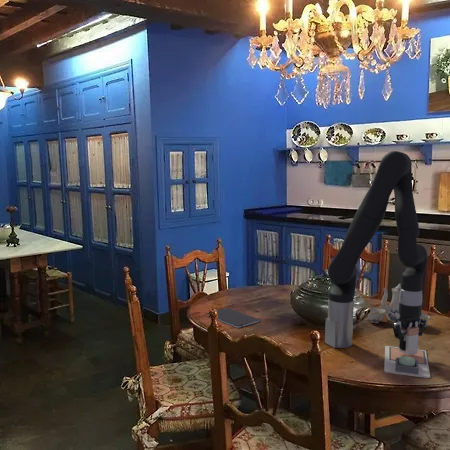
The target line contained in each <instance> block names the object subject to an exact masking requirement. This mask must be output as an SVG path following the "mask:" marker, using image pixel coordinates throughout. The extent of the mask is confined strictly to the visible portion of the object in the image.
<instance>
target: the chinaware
mask: <svg viewBox="0 0 450 450" xmlns="http://www.w3.org/2000/svg"><path fill="white" fill-rule="evenodd" d="M400 289H401V283H398V285H397V286H395V287H393V288H391V292H392V298H391V301H390V304H389V305H387V300H388V290H387V289H386V288H385V287H384V288H382V290H383V292H384V293H383V296H382V299H381V301H380V307H377V306H373V307H369V308H370V309H371V312H370V313H369V314H368V317H367V318H368V320H370V322H371V324H372V323H373V324H379V323H380V321H381V320H383V318H384V316H386V318H387V321H389V322H390V323H397V322H399V319H400V315H399V295H400ZM420 318H422V319H425V320H426V324H425V327H424V328H427V326H429V327H431V326H433V325H434V324H435V323H434V322H435V321H434V319H433V318H432V316H431V315H428V314H426V313H424V312H422V314H421V316H420ZM431 320H432V324H428V323H429V321H431ZM419 330H420V328H419Z"/></svg>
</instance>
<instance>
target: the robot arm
mask: <svg viewBox="0 0 450 450" xmlns="http://www.w3.org/2000/svg"><path fill="white" fill-rule="evenodd" d="M412 165H413V164H412V159H411V157H410V156H409V155H408V154H406V153H405V152H403V151H397V150H392V151H389V152H387V153H386V154H385V155H383V157H382V158H381V160H380V161H379V165H378V168H377V171H376V173H375V176H374V178H373V181H372V183H371V185H370V188H369V189H368V191H367V192H366V194H365V195H364V197H363V199H362V201H361V203H360V205H359V207H358V208H357V210H356V212H355V214H354V216H353V218H352V221H351V222H350V225H349V228H348V230H347V233H346V235H345V237H344V239H343V242H342V245H341V246H340V248H339V250H338V251H337V253H336V255H335V256H334V257H333V259H332V260H331V261H330V263H329V265H328V268H327V274H328V275H327V276H328V278H329V279H330V285H329V290H328V302H327V303H328V305H327V306H328V307H327V317H326V318H325V326H324V329H325V330H324V343H325V344H327V345H328V346H330V347H331V348H334V349H346V348H350V347H351V346H353V334H354V333H353V331H354V327H353V326H354V307H355V292H356V282H357V263H358V261H359V259H360V257H361V255H362V253H363V251H365V249H366V248H367V246H368V245H369V243H370V242H371V241H372V240H373V237H374V236H375V234H376V233H377V231H378V230H379V227H380V226H381V223H382V222H383V219H384V218H385V215H386V212H387V208H388V204H389V201H390V200H389V199H390V198H391V197H390V196H391V194H392V192H393V194H394V216H395V223H396V229H397V233H398V237H397V255H398V259H399V261H400V263H401V264H402V265H404V266H405V267H406V268H405V270H404V271H403V272H402V274H401V277H400V284H401V289H400V295H399V315H400V319H399V322H397V323H394V322H392V330H393V334H394V338H395V339H397V340H398V347H399V348H400V349H401V350H403V351H405V350H406V337H407V334H408V329H410V328H411V327H415V328H416V327H419V328H420V329H419V332H418V338H419V337H422V336H423V333H424V330H425V328H426V327H425V324H426V320H425V319H422V318H420V316H421V314H422V313H423V311H422V309H423V279H424V274H425V270H426V266H427V262H428V252H427V249H426V248H425V246H424V245H422V244H419V243H417V242H418V241H417V239H418V237H419V236H420V225H419V219H418V214H417V210H416V209H417V208H416V205H415V198H414V191H413V176H412V175H413V174H412V172H413V171H412V169H413V168H412ZM426 325H427V324H426ZM402 328H403V329H404V330H406V332H405V331H403V330H402ZM402 333H404V336H402ZM399 340H400V341H399Z"/></svg>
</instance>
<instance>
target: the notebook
mask: <svg viewBox="0 0 450 450" xmlns="http://www.w3.org/2000/svg"><path fill="white" fill-rule="evenodd" d="M216 311H217V312H218V320H219V322H221V323H224V324H226V325H228V326H231V327H233V328H236V329H240V328H243V327H246V326H250V325H253V324H257V323H260V322H261V319H259V318H257V317H254V316H251V315H249V314H246V313H243V312H241V311H237V310H235V309H232V308H229V307H225V308H221V309H218V310H216ZM206 316H207V317H208V318H210V317H209V312H207V313H206ZM218 320H217V321H218Z"/></svg>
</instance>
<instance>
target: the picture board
mask: <svg viewBox="0 0 450 450" xmlns="http://www.w3.org/2000/svg"><path fill="white" fill-rule="evenodd" d="M401 356H407V355H405V354H403V353H401V352H399V346H390V345H384V365H383V367H384V370H383V371H384V372H383V373H385V374H387V373H388V374H393V375H401V376H411V377H415V378H416V377H417V378H425V379H431V373H430V368H429V362H428V356H427V351H426V350H424V349H418V350H417V354H413V355H409V357H412V358H414V359H415V367H409V366H401V365H399V357H401Z"/></svg>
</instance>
